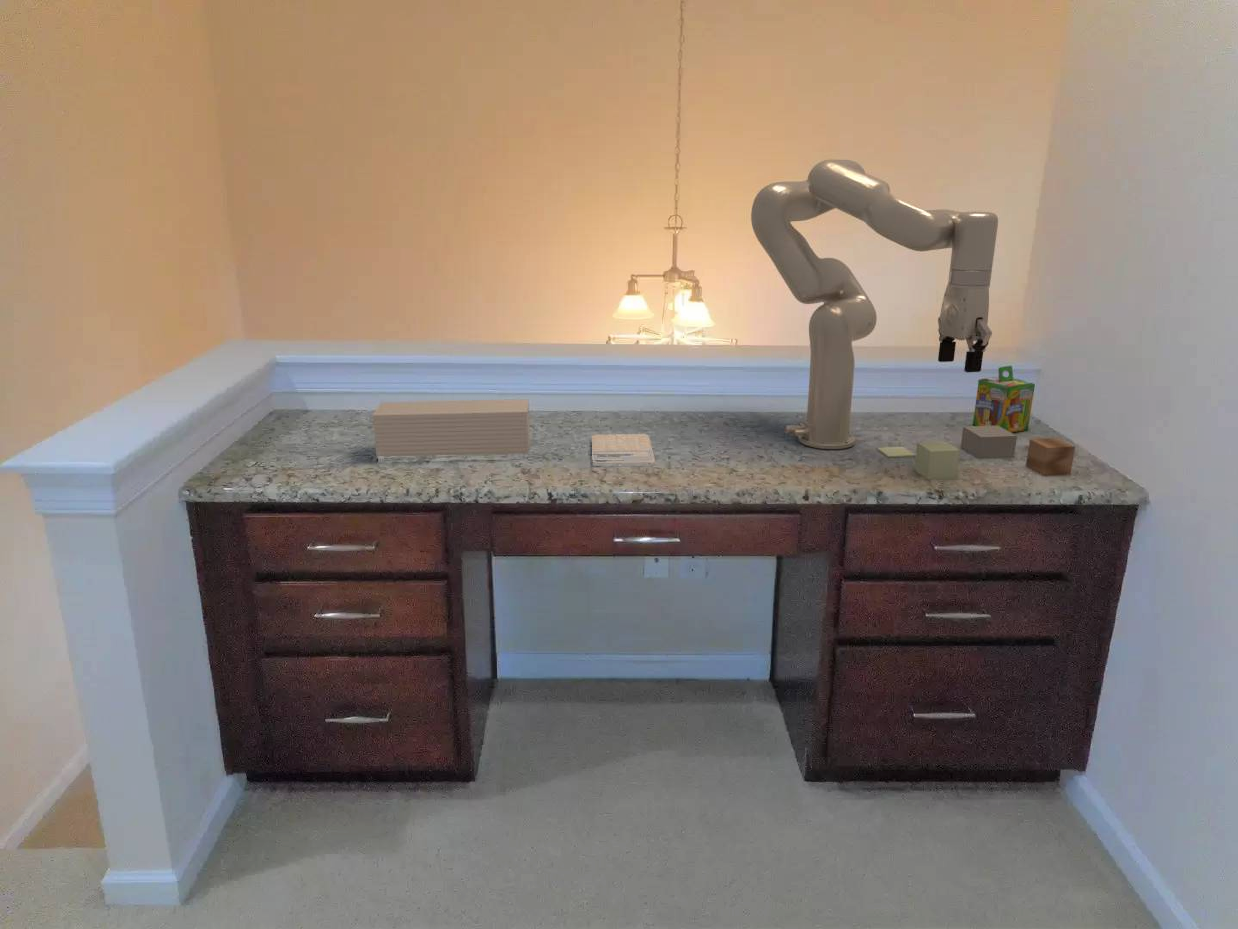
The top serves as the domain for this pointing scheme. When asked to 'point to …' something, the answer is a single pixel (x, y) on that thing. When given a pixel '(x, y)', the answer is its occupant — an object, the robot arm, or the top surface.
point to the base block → (988, 442)
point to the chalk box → (1004, 402)
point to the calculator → (623, 448)
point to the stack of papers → (452, 428)
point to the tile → (895, 452)
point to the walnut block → (1050, 456)
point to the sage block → (936, 460)
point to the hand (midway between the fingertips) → (958, 366)
